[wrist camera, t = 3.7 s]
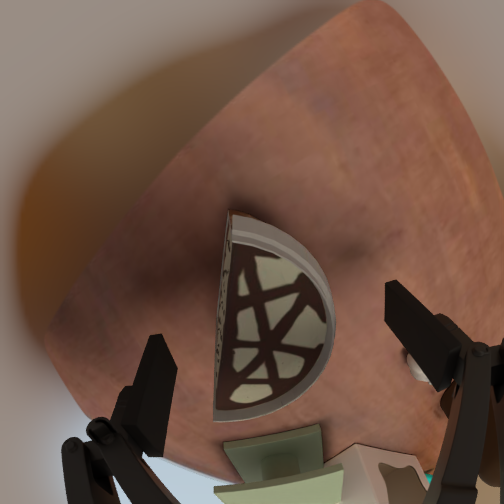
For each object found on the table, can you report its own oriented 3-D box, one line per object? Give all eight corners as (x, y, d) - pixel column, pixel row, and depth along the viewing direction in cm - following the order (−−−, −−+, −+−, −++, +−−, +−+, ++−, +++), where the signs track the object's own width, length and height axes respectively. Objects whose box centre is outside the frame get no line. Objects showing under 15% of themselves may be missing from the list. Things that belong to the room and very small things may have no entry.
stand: (240, 480, 36) (243, 521, 28) (213, 439, 31) (213, 493, 23) (328, 462, 36) (340, 503, 28) (326, 417, 31) (344, 469, 23)
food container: (284, 337, 26) (310, 426, 16) (214, 333, 25) (212, 426, 15) (314, 199, 21) (376, 244, 12) (230, 188, 21) (233, 226, 11)
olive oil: (445, 377, 31) (531, 506, 8) (494, 350, 31) (580, 452, 8) (430, 419, 35) (491, 531, 12) (476, 394, 35) (541, 488, 12)
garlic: (398, 372, 29) (417, 402, 24) (401, 338, 27) (424, 369, 22) (438, 354, 29) (460, 380, 24) (444, 320, 27) (470, 346, 22)
